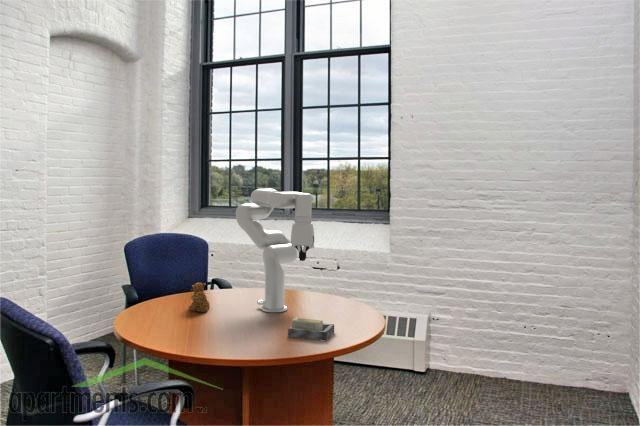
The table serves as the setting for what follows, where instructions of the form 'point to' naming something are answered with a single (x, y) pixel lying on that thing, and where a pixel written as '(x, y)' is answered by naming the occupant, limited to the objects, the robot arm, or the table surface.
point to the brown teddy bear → (199, 299)
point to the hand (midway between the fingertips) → (302, 260)
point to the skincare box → (307, 324)
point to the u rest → (312, 332)
